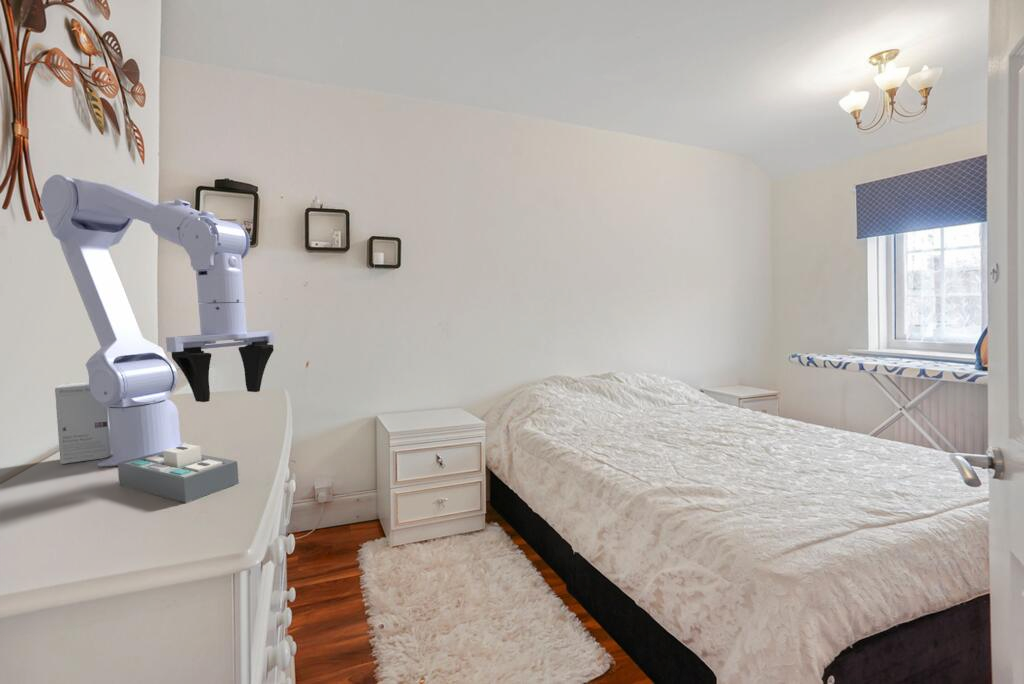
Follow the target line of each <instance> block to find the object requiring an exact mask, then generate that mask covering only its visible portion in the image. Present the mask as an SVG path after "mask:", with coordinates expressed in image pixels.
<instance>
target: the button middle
mask: <svg viewBox="0 0 1024 684" xmlns="http://www.w3.org/2000/svg"><path fill="white" fill-rule="evenodd" d="M163 454H164V465H166V466H171V467H176V468H177V467H181V466H184V465H187V464H190V463H194V462H197V461H200V460H202V457H201V455H202V447H201V446H200V445H197V444H196V445H195V444H189V443H187V444H186V445H182V446H178V447H174V448H171V449H167V450H163Z"/></svg>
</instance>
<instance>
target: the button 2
mask: <svg viewBox="0 0 1024 684" xmlns="http://www.w3.org/2000/svg"><path fill="white" fill-rule="evenodd" d="M222 464H223V462H219V461H214V460H209V459H208V460H205V461H202V462H198V463H195V464H192V465H188V466H185V470H189V471H194V472H200V471H203V470H206V469H209V468H213V467H216V466H219V465H222Z"/></svg>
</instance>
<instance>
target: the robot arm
mask: <svg viewBox="0 0 1024 684" xmlns="http://www.w3.org/2000/svg"><path fill="white" fill-rule="evenodd" d="M39 205H40V206H41V209H42V211H43V214H44V218H45V219H46V221H47V222H46V223H48V226H49V229H50V231H51V234H52V236H53V237H55V238H56V239H58V240H59V243H60V247H61V250H62V253H63V255H64V258H65V260H66V263H67V265H68V268H69V271H70V272H71V275H72V278H73V280H74V283H75V285H76V288H77V290H78V293H79V295H80V298H81V300H82V303H83V306H84V308H85V311H86V312H87V315H88V318H89V320H90V323H91V326H92V327H93V328H92V329H93V331H94V333H95V336H96V338H97V341H98V343H99V347H100V348H99V349H98V350H96V351H95V353H93V354H92V355H91V357H89V359H88V360H87V362H86V363H85V367H86V369H87V373H88V382H89V389H90V392H91V394H92V396H93V397H94V398H95V399H96V400H97V401H98V402H99V403H101V404H102V407H108V415H109V425H110V436H111V446H112V454H111V457H108V458H106V460H103V461H101V462H98V463H97V466H98V467H114V466H118V464H117V463H121V462H124V461H128V460H132V459H136V458H139V457H143V456H147V455H151V454H154V453H158V452H162V451H163V450H167V449H171V448H174V447H178V446H182V445H186V444H188V443H187V442H186V441H185V442H181V431H180V420H179V419H180V418H179V410H178V407H177V405H176V404H175V403H174V402H173V401H172V400H171V393H173V392H174V390H175V388H176V387H177V384H178V379H179V376H178V370H177V367H175V364H174V363H176V365H177V366H178V367H179V369H180V370H181V372H182V373H183V374H184V376H185V379H186V381H187V383H188V384H189V386H190V389H191V391H192V394H193V397H194V400H195V402H200V403H207V402H210V399H211V398H210V396H211V391H210V379H209V378H210V365H211V360H212V355H213V354H212V353H210V352H205V351H204V350H205V349H207V350H208V349H217V348H218V349H219V348H229V347H238V348H237V349H238V352H239V355H240V357H241V361H242V364H243V369H244V381H245V387H246V391H247V392H252V393H259V392H260V391H261V386H262V381H263V377H264V376H263V375H264V372H265V370H266V366H267V364H268V362H269V359H270V357H271V355H272V354H273V352H274V351H275V350H274V343H275V335H274V330H259V331H258V330H256V331H248V329H247V328H248V327H247V316H246V303H245V302H246V301H245V300H246V299H245V289H244V288H245V287H244V274H243V272H244V271H243V261H242V260H243V259H244V258H245V257H246V256H247V255H248V253H249V251H250V248H251V247H250V246H251V239H250V238H251V237H250V235H249V233H248V231H247V229H246V228H245V227H244V226H243V225H242V224H239V222H237V221H233V220H232V221H229V220H228V221H227V220H222V219H217V218H216V217H215V213H213V212H211V211H207V210H201V211H200V210H197V209H195V208H192V207H191V203H190V202H189V201H186V200H183V199H178V198H175V199H174V200H165V201H161V202H157V201H155V200H153V199H150V197H149V198H148V197H146V196H144V195H143V194H140V193H138V192H136V191H134V190H132V189H127V188H123V187H119V186H114V185H109V184H106V183H105V184H104V183H100V182H96V181H90V180H84V179H80V178H74V177H72V178H71V177H68V176H66V175H63V174H54V175H51V176H50V177H48V179H47V180H46V181H45V182H44V184H43V187H42V189H41V195H40V201H39ZM134 220H139V221H140V222H143V223H146V224H148V225H149V226H150V228H151V230H152V231H153V233H154V234H155V235H156V236H158V238H161V239H164V240H166V241H168V242H170V243H173V244H176V245H178V246H179V247H182V248H184V250H185V252H186V253H187V254H188V256H189V259H190V267H191V268H192V270H194V271H195V275H196V277H195V278H196V289H197V290H196V291H197V300H198V301H197V302H198V312H199V313H198V314H199V325H200V326H199V328H200V329H199V330H200V334H195V335H194V334H193V335H184V336H183V335H181V336H169V337H165V342H166V352H168V353H171V359H172V360H173V361H174V363H173V362H172V361H171V360H170V359H169V358H168V357H167V355H166V352H165V351H164V348H163V347H161V346H159V345H158V344H156V343H153V342H151V341H150V340H148V339H146V338H144V336H143V334H142V332H141V329H140V326H139V324H138V322H137V319H136V317H135V315H134V312H133V309H132V307H131V305H130V302H129V299H128V297H127V294H126V292H125V289H124V287H123V285H122V282H121V279H120V277H119V274H118V272H117V270H116V267H115V265H114V262H113V259H112V257H111V254H110V252H109V248H110V247H113V246H115V245H117V244H119V243H120V242H121V240H123V237H124V235H126V232H127V231H128V230H129V228H130V226H131V225H132V224H133V221H134ZM220 341H234V342H225V343H224V342H223V343H217V342H220Z"/></svg>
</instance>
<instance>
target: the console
mask: <svg viewBox="0 0 1024 684" xmlns="http://www.w3.org/2000/svg"><path fill="white" fill-rule="evenodd" d="M160 454H163V451H162V452H158V453H154V454H151V455H147V456H143V457H139V458H136V459H132V460H128V461H124V462H121V463H117V464H118V465H117V471H118V472H117V473H118V474H117V475H118V483H119V486H122V487H125V488H129V489H133V490H135V491H140V492H142V493H143V492H144V493H148V494H151V495H153V496H154V495H155V496H157V497H163V498H166V499H170V500H173V499H174V500H173V501H177V500H178V501H177V502H180V501H182V502H181V503H184V502H185V504H187V503H189V501H190V502H192V501H191V500H193V501H195V500H197V498H198V499H200V497H201V498H202V497H203V498H204V497H205V496H208V495H211V494H213V493H217V492H219V491H223V490H225V489H228V488H230V487H233V486H235V484H236V485H238V484H240V481H239V468H238V460H231V459H226V458H221V457H217V456H211V455H206V454H205V455H204V454H201V457H202V460H200V461H197V462H194V463H190V464H187V465H184V466H181V467H177V468H176V467H171V466H166V465H164V461H163V462H160V463H152V462H148V461H146V460H145V458H149V457H153V456H156V455H160ZM208 459H209V460H214V461H219V462H223V464H222V465H219V466H216V467H213V468H209V469H206V470H203V471H200V472H194V471H189V470H185V466H188V465H192V464H195V463H198V462H202V461H205V460H208ZM232 485H233V486H232ZM194 499H195V500H194ZM186 502H187V503H186Z"/></svg>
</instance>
